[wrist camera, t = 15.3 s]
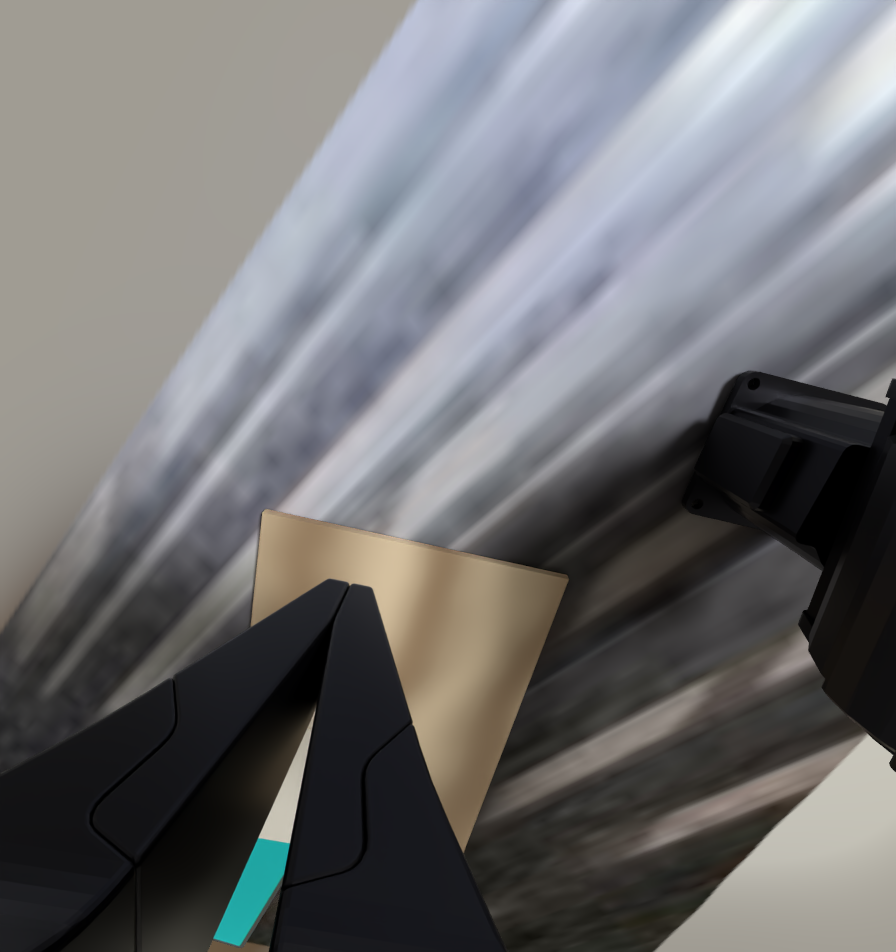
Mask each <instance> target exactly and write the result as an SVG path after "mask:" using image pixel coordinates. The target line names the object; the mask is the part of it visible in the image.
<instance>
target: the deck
mask: <svg viewBox="0 0 896 952" xmlns="http://www.w3.org/2000/svg"><path fill="white" fill-rule="evenodd" d="M315 710H316V709H315ZM314 715H315V712H314V714H313V717H312V719H311V721H310V724H309V726H308V728H307V730H306V733H305V735H304V737H303V739H302V741H301V744H300V746H299V748H298V750H297V753H296V755H295V757H294V759H293V762H292V764H291V766H290V768H289V770H288V773H287V775H286V777H285V779H284V782H283V784H282V786H281V788H280V791H279V793H278V795H277V797H276V800H275V802H274V804H273V806H272V808H271V811H270V813H269V815H268V817H267V820H266V822H265V824H264V826H263V829H262V831H261V833H260V835H259V838H262V839H267V840H273V841H279V842H285V843H290V840H291V835H292V829H293V824H294V819H295V814H296V809H297V803H298V798H299V793H300V788H301V783H302V778H303V772H304V767H305V762H306V757H307V752H308V746H309V741H310V736H311V731H312V726H313V721H314Z"/></svg>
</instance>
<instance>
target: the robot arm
mask: <svg viewBox="0 0 896 952" xmlns="http://www.w3.org/2000/svg"><path fill="white" fill-rule="evenodd" d="M752 378H753V379H754V384H753V386H752V387H751V388H749V389H748V386H747V385H748V382H749V381H750V380H751V379H752ZM885 397H888V398H890V399H889V401H888V404H887V406H886V405H885V404H882V403H879V402H875V401H871V400H867V399H863V398H859V397H855V396H851V395H847V394H843V393H840V392H836V391H832V390H828V389H824V388H820V387H816V386H812V385H808V384H805V383H801V382H797V381H793V380H789V379H785V378H781V377H777V376H773V375H770V374H766V373H762V372H757V371H746V372H744V373H742V374H741V375H740V376H739V377H738V379H737V380H736V382H735V385H734V387H733V389H732V391H731V393H730V396H729V398H728V400H727V402H726V404H725V407H724V409H723V411H722V413H721V415H720V416H719V417H718V418H717V419H716V422H715V424H714V426H713V428H712V430H711V433H710V435H709V437H708V439H707V441H706V444H705V446H704V448H703V450H702V452H701V455H700V457H699V459H698V461H697V463H696V466H695V472H694V475H693V477H692V479H691V481H690V483H689V486H688V488H687V490H686V492H685V494H684V497H683V499H682V505H683V507H684V508H685V509H686V510H687V511H688V512H690V513H692V514H695V515H700V516H704V517H708V518H713V519H717V520H721V521H726V522H730V523H734V524H738V525H743V526H747V527H751V528H756V529H760V530H763V531H764V532H766V533H767V534H769V535H770V536H772V537H773V538H775V539H776V540H778V541H779V542H781V543H782V544H784V545H785V546H786V547H788V548H789V549H791V550H792V551H794V552H795V553H797V554H798V555H800V556H801V557H803V558H804V559H805V560H807V561H808V562H810V563H811V564H813V565H814V566H816V567H817V568H819V569H820V570H822V574H821V577H820V579H819V582H818V584H817V587H816V589H815V592H814V595H813V597H812V600H811V602H810V605H809V607H808V610H804V611H803V612H802V615H801V618H800V620H799V623H798V625H799V627H800V629H801V630H802V632H803V634H804V635H805V637H806V639H807V641H808V642H809V649H808V651H809V653H810V655H811V656H812V658H813V660H814V662H815V664H816V666H817V667H818V669H819V671H820V673H821V674H822V675H823V677H824V678H825V679H824V681H823V684H822V689H823V690H824V692H825V693H826V694H827V696H828V697H829V698H830V699H831V700H832V701H833V702H834V703H835V704H836V705H837V706H838V707H839V708H840V709H841V710H842V711H843V712H844V713H845V714H846V715H847V716H848V717H849V718H850V719H851V720H852V721H853V722H854V723H856V724H857V725H858V726H860V727H861V728H862V729H863V730H865V731H866V732H867V733H868V734H869V735H870V736H871V737H872V738H873V739H874V740H875V741H876V742H878V743H879V744H880V745H882V746H883V747H884V748H885V749H886V750H888V751H889V752H890V753H891V754H893V757H892V759H891V761H890V762H889V764H890V767H891V768H892V769H893V770H894V771H895V772H896V379H892V381H891V383H890V386H889V389H888V391H887V394H886V396H885ZM696 499H699V500H698V503H697V504H696V505H694V506H692V502H693V501H694V500H696ZM315 709H316V710H315ZM314 712H315V715H314V721H313V726H312V731H311V736H310V741H309V746H308V752H307V757H306V762H305V767H304V772H303V778H302V783H301V788H300V793H299V798H298V803H297V809H296V814H295V819H294V824H293V829H292V835H291V840H290V845H289V850H288V855H287V860H286V866H285V871H284V876H283V881H282V886H281V892H280V898H279V902H278V907H277V912H276V917H275V922H274V928H273V933H272V938H271V943H270V948H269V952H508V950H507V948H506V946H505V944H504V942H503V940H502V938H501V936H500V934H499V932H498V929H497V927H496V925H495V923H494V921H493V919H492V916H491V914H490V912H489V910H488V907H487V905H486V903H485V901H484V898H483V896H482V894H481V892H480V890H479V887H478V885H477V883H476V881H475V878H474V876H473V874H472V872H471V869H470V867H469V865H468V863H467V860H466V858H465V856H464V854H463V851H462V849H461V847H460V845H459V842H458V840H457V838H456V836H455V833H454V831H453V829H452V827H451V825H450V822H449V820H448V818H447V815H446V813H445V811H444V808H443V806H442V803H441V801H440V798H439V796H438V794H437V791H436V789H435V786H434V784H433V782H432V779H431V776H430V773H429V770H428V767H427V764H426V761H425V758H424V755H423V752H422V749H421V746H420V743H419V740H418V736H417V733H416V730H415V727H414V725H412V724H413V721H412V717H411V714H410V711H409V707H408V704H407V701H406V697H405V694H404V691H403V687H402V684H401V681H400V677H399V674H398V671H397V667H396V664H395V661H394V657H393V654H392V651H391V647H390V644H389V641H388V637H387V634H386V631H385V627H384V624H383V621H382V617H381V614H380V611H379V607H378V604H377V601H376V597H375V594H374V591H373V589H372V588H371V587H369V586H364V585H360V584H355V583H353V584H351V585H349V583H348V582H345V581H341V580H336V579H331V578H329V579H326V580H325V581H323V582H322V583H320V584H318V585H317V586H315V587H314V588H312V589H310V590H309V591H307V592H306V593H304V594H302V595H301V596H299V597H298V598H296V599H294V600H293V601H291V602H290V603H288V604H287V605H285V606H283V607H282V608H280V609H279V610H277V611H275V612H274V613H272V614H271V615H269V616H267V617H266V618H264V619H263V620H261V621H259V622H258V623H256V624H255V625H253V626H252V627H250V628H248V629H247V630H245V631H244V632H242V633H240V634H239V635H237V636H236V637H234V638H232V639H231V640H229V641H228V642H226V643H224V644H223V645H221V646H220V647H218V648H216V649H215V650H213V651H212V652H210V653H209V654H207V655H205V656H204V657H202V658H201V659H199V660H197V661H196V662H194V663H193V664H191V665H189V666H188V667H186V668H185V669H183V670H181V671H180V672H178V673H177V674H175V675H174V676H173V679H171V678H169V679H167V680H165V681H164V682H162V683H160V684H159V685H157V686H156V687H154V688H152V689H151V690H149V691H148V692H146V693H144V694H143V695H141V696H139V697H138V698H136V699H134V700H133V701H131V702H129V703H128V704H126V705H124V706H123V707H121V708H119V709H118V710H116V711H114V712H113V713H111V714H109V715H108V716H106V717H104V718H103V719H101V720H99V721H97V722H95V723H94V724H92V725H90V726H88V727H86V728H84V729H83V730H81V731H79V732H77V733H75V734H73V735H72V736H70V737H68V738H66V739H64V740H63V741H61V742H59V743H57V744H55V745H53V746H52V747H50V748H48V749H46V750H44V751H42V752H40V753H38V754H36V755H34V756H33V757H31V758H29V759H27V760H25V761H23V762H21V763H19V764H17V765H15V766H14V767H12V768H10V769H8V770H6V771H4V772H2V773H0V952H207V951H208V949H209V947H210V945H211V943H212V940H213V938H214V936H215V934H216V931H217V929H218V927H219V925H220V922H221V920H222V918H223V916H224V914H225V911H226V909H227V907H228V905H229V902H230V900H231V898H232V896H233V893H234V891H235V889H236V887H237V884H238V882H239V880H240V878H241V876H242V873H243V871H244V869H245V867H246V864H247V862H248V860H249V858H250V855H251V853H252V851H253V849H254V846H255V844H256V842H257V840H258V838H259V835H260V833H261V831H262V829H263V826H264V824H265V822H266V820H267V817H268V815H269V813H270V811H271V808H272V806H273V804H274V802H275V800H276V797H277V795H278V793H279V791H280V788H281V786H282V784H283V782H284V779H285V777H286V775H287V773H288V770H289V768H290V766H291V764H292V762H293V759H294V757H295V755H296V753H297V750H298V748H299V746H300V744H301V741H302V739H303V737H304V735H305V733H306V730H307V728H308V726H309V724H310V721H311V719H312V717H313V714H314Z"/></svg>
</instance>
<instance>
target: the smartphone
mask: <svg viewBox="0 0 896 952" xmlns="http://www.w3.org/2000/svg"><path fill="white" fill-rule="evenodd" d="M289 845H290V843H285V842H279V841H273V840H267V839H262V838H258V840H257V842H256V844H255V846H254V849H253V851H252V853H251V855H250V858H249V860H248V862H247V864H246V867H245V869H244V871H243V873H242V876H241V878H240V880H239V882H238V884H237V887H236V889H235V891H234V893H233V896H232V898H231V900H230V902H229V905H228V907H227V909H226V911H225V914H224V916H223V918H222V920H221V922H220V925H219V927H218V929H217V931H216V934H215V936H214V938H213V940H214V941H217V942H221V943H224V944H227V945H231V946H235V947H238V948H242V947H244V945H245V944H246V942H247V940H248V939H249V937H250V936H251V934H252V932H253V931H254V929H255V928H256V926H257V924H258V923H259V921H260V919H261V918H262V916H263V915H264V913H265V911H266V910H267V908H268V907H269V905H270V903H271V902H272V900H273V898H274V897H275V895H276V894H277V892H278V890H279V889H280V887H281V885H282V881H283V876H284V871H285V866H286V860H287V855H288V850H289Z"/></svg>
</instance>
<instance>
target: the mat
mask: <svg viewBox="0 0 896 952" xmlns="http://www.w3.org/2000/svg"><path fill="white" fill-rule="evenodd" d="M329 578H331V579H336V580H341V581H345V582H348V583H349V585H351V584H353V583H355V584H360V585H364V586H369V587H371V588H372V589H373V591H374V594H375V597H376V601H377V604H378V607H379V611H380V614H381V617H382V621H383V624H384V627H385V631H386V634H387V637H388V641H389V644H390V647H391V651H392V654H393V657H394V661H395V664H396V667H397V671H398V674H399V677H400V681H401V684H402V687H403V691H404V694H405V697H406V701H407V704H408V707H409V711H410V714H411V717H412V721H413V724H412V725H414V727H415V730H416V733H417V736H418V740H419V743H420V746H421V749H422V752H423V755H424V758H425V761H426V764H427V767H428V770H429V773H430V776H431V779H432V782H433V784H434V786H435V789H436V791H437V794H438V796H439V798H440V801H441V803H442V806H443V808H444V811H445V813H446V815H447V818H448V820H449V822H450V825H451V827H452V829H453V831H454V833H455V836H456V838H457V840H458V842H459V845H460V847H461V849H462V851H463V852H464V850H465V847H466V845H467V842H468V839H469V837H470V834H471V832H472V829H473V826H474V824H475V821H476V819H477V816H478V813H479V811H480V808H481V806H482V803H483V801H484V798H485V795H486V793H487V790H488V788H489V785H490V782H491V780H492V777H493V775H494V772H495V769H496V767H497V764H498V762H499V759H500V756H501V754H502V751H503V749H504V746H505V744H506V741H507V738H508V736H509V733H510V731H511V728H512V725H513V723H514V720H515V718H516V715H517V712H518V710H519V707H520V705H521V702H522V699H523V697H524V694H525V692H526V689H527V687H528V684H529V681H530V679H531V676H532V674H533V671H534V668H535V666H536V663H537V661H538V658H539V655H540V653H541V650H542V648H543V645H544V643H545V640H546V637H547V635H548V632H549V630H550V627H551V624H552V622H553V619H554V617H555V614H556V611H557V609H558V606H559V604H560V601H561V598H562V596H563V593H564V591H565V588H566V586H567V583H568V580H569V578H568V576H567V575H565V574H561V573H556V572H552V571H547V570H542V569H538V568H533V567H529V566H524V565H520V564H515V563H510V562H506V561H501V560H497V559H492V558H488V557H483V556H478V555H474V554H469V553H465V552H460V551H455V550H451V549H446V548H442V547H437V546H433V545H428V544H423V543H419V542H414V541H410V540H405V539H401V538H396V537H391V536H387V535H382V534H378V533H373V532H369V531H364V530H359V529H355V528H350V527H346V526H341V525H337V524H332V523H327V522H323V521H318V520H314V519H309V518H305V517H300V516H295V515H291V514H286V513H282V512H277V511H272V510H268V509H265V510H264V511H263V512H262V521H261V531H260V541H259V550H258V560H257V570H256V580H255V590H254V599H253V609H252V619H251V627H252V626H253V625H255V624H256V623H258V622H259V621H261V620H263V619H264V618H266V617H267V616H269V615H271V614H272V613H274V612H275V611H277V610H279V609H280V608H282V607H283V606H285V605H287V604H288V603H290V602H291V601H293V600H294V599H296V598H298V597H299V596H301V595H302V594H304V593H306V592H307V591H309V590H310V589H312V588H314V587H315V586H317V585H318V584H320V583H322V582H323V581H325V580H326V579H329Z"/></svg>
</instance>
